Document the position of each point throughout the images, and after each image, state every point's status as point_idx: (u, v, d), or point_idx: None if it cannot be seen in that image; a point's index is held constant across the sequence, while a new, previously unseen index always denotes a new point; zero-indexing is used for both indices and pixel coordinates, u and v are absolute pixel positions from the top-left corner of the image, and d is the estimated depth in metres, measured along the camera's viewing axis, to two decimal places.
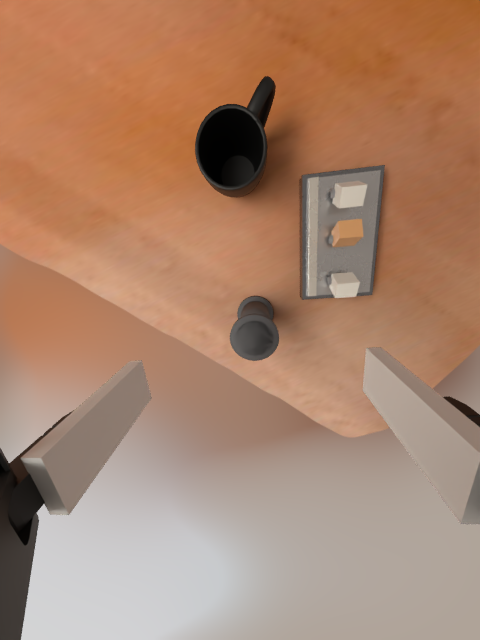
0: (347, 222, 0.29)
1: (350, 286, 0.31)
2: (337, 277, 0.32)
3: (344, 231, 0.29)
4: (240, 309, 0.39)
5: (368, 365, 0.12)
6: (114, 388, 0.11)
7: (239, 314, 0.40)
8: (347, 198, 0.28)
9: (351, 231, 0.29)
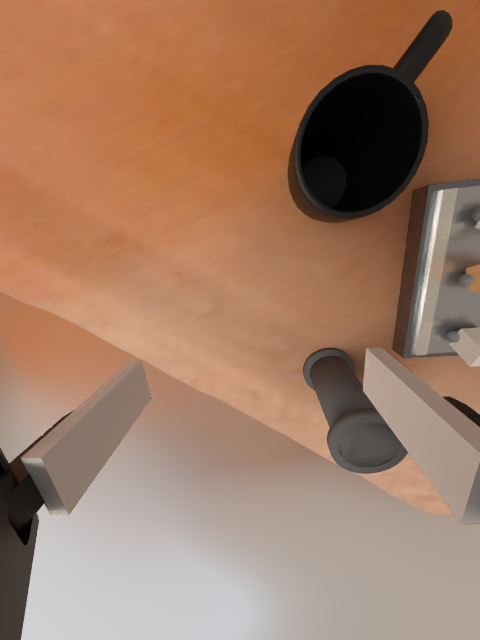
0: None
1: None
2: (475, 336, 0.22)
3: None
4: (309, 366, 0.29)
5: (368, 365, 0.12)
6: (114, 388, 0.11)
7: (307, 372, 0.29)
8: None
9: None
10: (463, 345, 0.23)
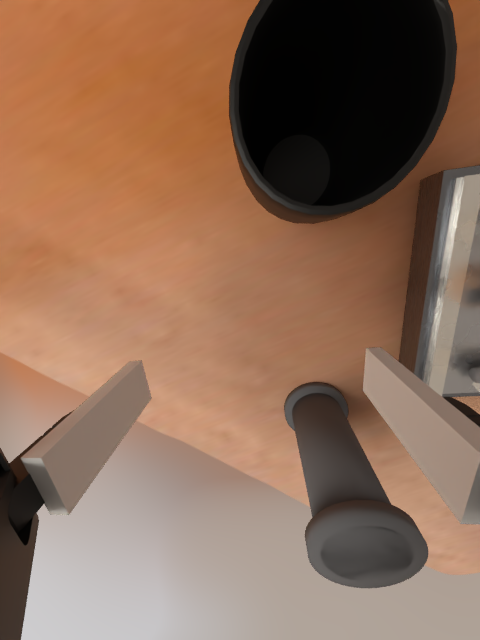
0: None
1: None
2: None
3: None
4: (290, 405, 0.23)
5: (368, 365, 0.12)
6: (114, 388, 0.11)
7: (288, 412, 0.23)
8: None
9: None
10: None
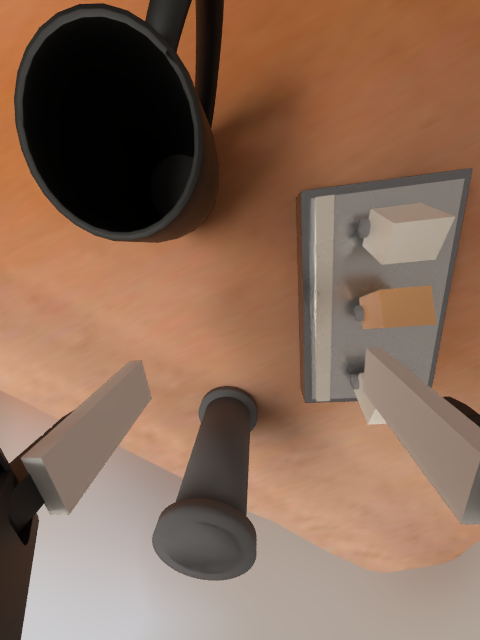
0: (399, 293, 0.14)
1: None
2: None
3: (393, 312, 0.14)
4: (203, 408, 0.24)
5: (368, 365, 0.12)
6: (114, 388, 0.11)
7: (202, 415, 0.24)
8: (404, 245, 0.13)
9: (409, 313, 0.14)
10: (362, 395, 0.17)
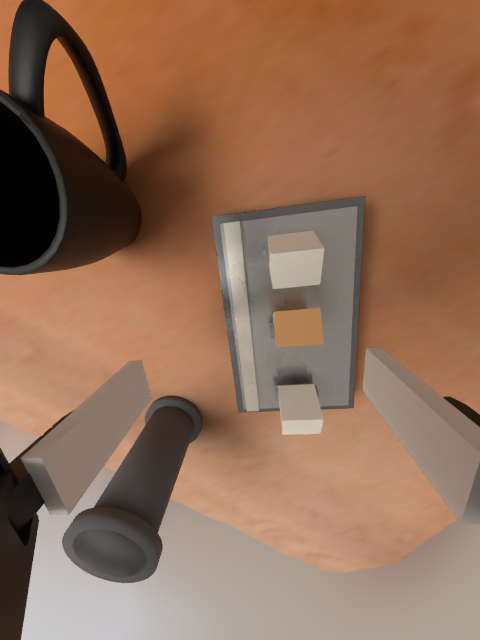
0: (292, 315, 0.15)
1: (307, 423, 0.17)
2: (285, 398, 0.18)
3: (286, 333, 0.15)
4: (148, 417, 0.25)
5: (368, 365, 0.12)
6: (114, 388, 0.11)
7: None
8: (287, 272, 0.14)
9: (300, 333, 0.15)
10: None
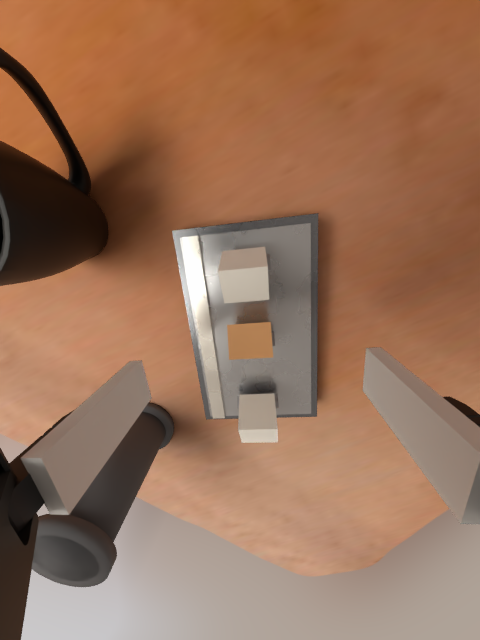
0: (243, 328, 0.15)
1: (263, 432, 0.17)
2: (244, 407, 0.18)
3: (238, 346, 0.15)
4: None
5: (368, 365, 0.12)
6: (114, 388, 0.11)
7: None
8: (236, 288, 0.14)
9: (251, 346, 0.15)
10: None
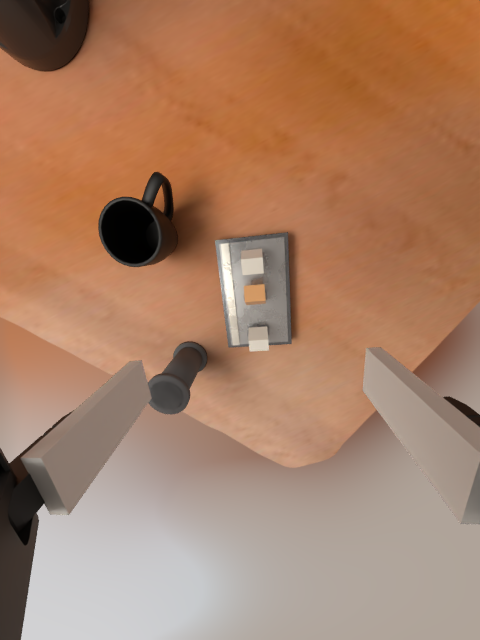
0: (251, 287, 0.32)
1: (261, 342, 0.34)
2: (251, 332, 0.35)
3: (249, 295, 0.32)
4: (175, 354, 0.42)
5: (368, 365, 0.12)
6: (114, 388, 0.11)
7: None
8: (248, 267, 0.31)
9: (255, 295, 0.32)
10: None
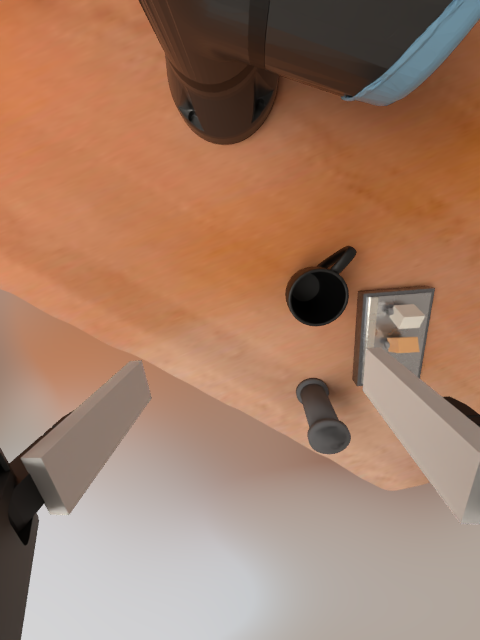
0: (405, 339, 0.35)
1: None
2: None
3: (403, 347, 0.35)
4: (299, 389, 0.45)
5: (368, 365, 0.12)
6: (114, 388, 0.11)
7: (298, 393, 0.46)
8: (407, 323, 0.34)
9: (409, 347, 0.35)
10: None
